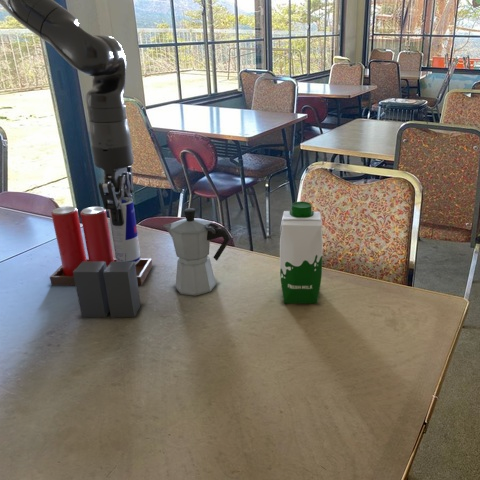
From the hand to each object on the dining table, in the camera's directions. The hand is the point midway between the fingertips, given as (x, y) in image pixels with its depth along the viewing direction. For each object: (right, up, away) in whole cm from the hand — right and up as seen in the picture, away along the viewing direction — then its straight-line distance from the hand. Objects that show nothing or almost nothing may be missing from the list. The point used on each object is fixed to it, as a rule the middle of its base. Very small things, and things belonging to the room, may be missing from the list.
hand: (122, 219), depth 104 cm
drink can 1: (-12, -12, +4) cm, 18 cm away
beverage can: (0, -10, +4) cm, 11 cm away
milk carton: (+39, -17, 0) cm, 42 cm away
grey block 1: (-2, -19, -8) cm, 20 cm away
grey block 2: (+4, -19, -8) cm, 21 cm away
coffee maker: (+16, -15, +2) cm, 22 cm away
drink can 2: (-6, -12, +5) cm, 14 cm away
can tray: (-6, -13, +5) cm, 15 cm away
